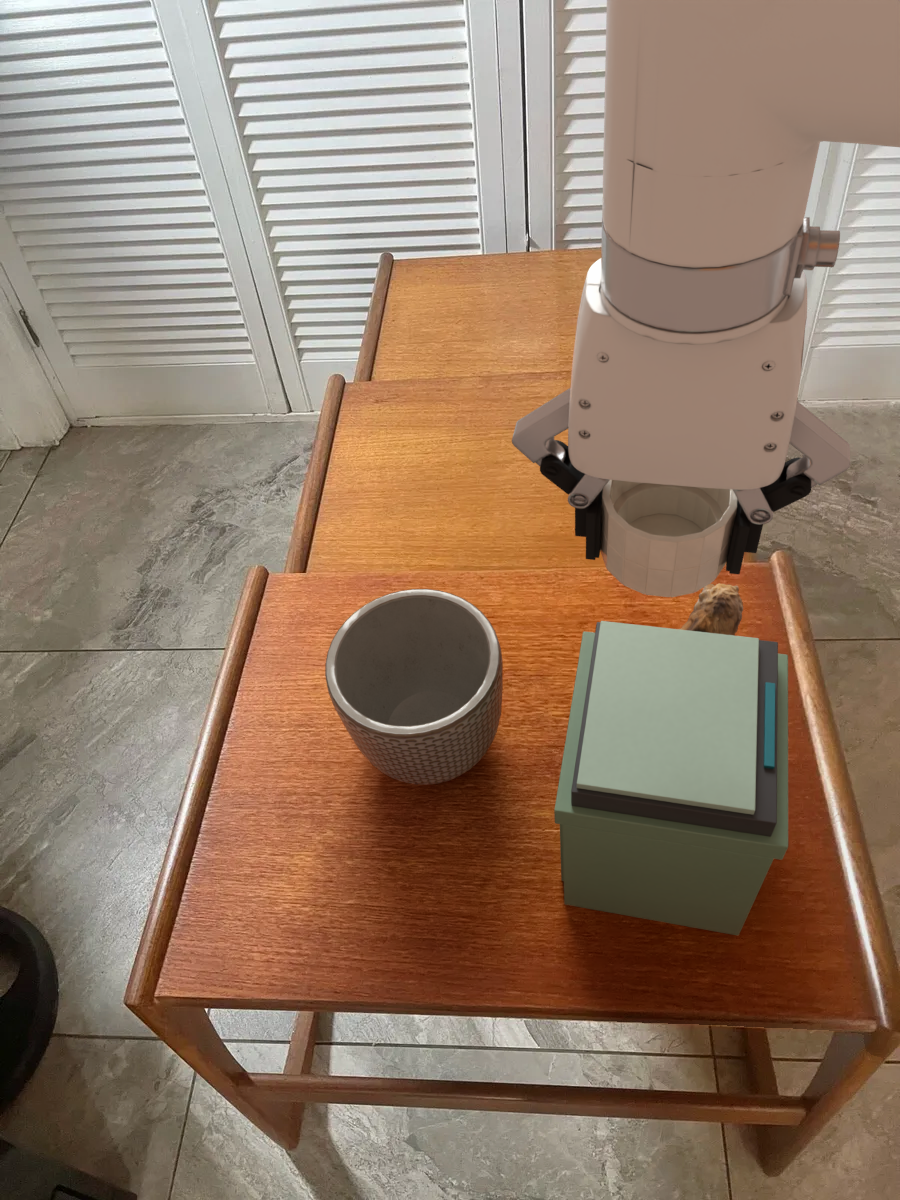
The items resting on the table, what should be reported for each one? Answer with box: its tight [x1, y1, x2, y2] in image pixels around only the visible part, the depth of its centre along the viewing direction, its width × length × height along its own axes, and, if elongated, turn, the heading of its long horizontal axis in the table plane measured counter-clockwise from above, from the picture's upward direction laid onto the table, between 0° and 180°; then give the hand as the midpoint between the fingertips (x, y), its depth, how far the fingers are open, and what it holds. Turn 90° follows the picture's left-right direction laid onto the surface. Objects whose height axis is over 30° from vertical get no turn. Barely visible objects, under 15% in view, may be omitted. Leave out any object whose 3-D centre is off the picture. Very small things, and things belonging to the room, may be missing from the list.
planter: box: [324, 588, 504, 786], centre depth 75 cm, size 14×14×13 cm
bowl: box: [600, 480, 738, 598], centre depth 49 cm, size 7×7×5 cm
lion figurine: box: [679, 583, 744, 636], centre depth 78 cm, size 15×5×9 cm, turn 121°
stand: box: [553, 631, 789, 936], centre depth 66 cm, size 14×14×17 cm
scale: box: [571, 620, 779, 837], centre depth 58 cm, size 12×13×3 cm
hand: (663, 545), depth 50 cm, fingers closed on bowl, 6 cm apart
